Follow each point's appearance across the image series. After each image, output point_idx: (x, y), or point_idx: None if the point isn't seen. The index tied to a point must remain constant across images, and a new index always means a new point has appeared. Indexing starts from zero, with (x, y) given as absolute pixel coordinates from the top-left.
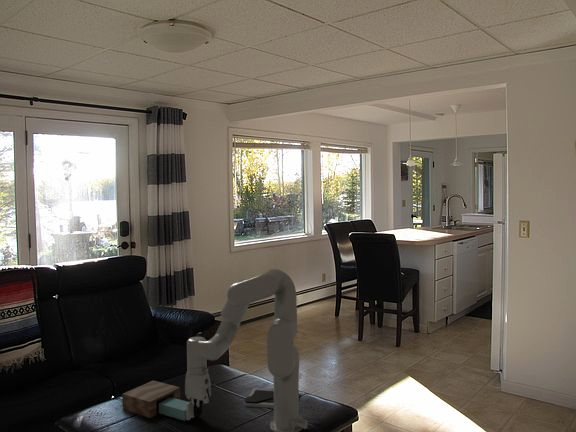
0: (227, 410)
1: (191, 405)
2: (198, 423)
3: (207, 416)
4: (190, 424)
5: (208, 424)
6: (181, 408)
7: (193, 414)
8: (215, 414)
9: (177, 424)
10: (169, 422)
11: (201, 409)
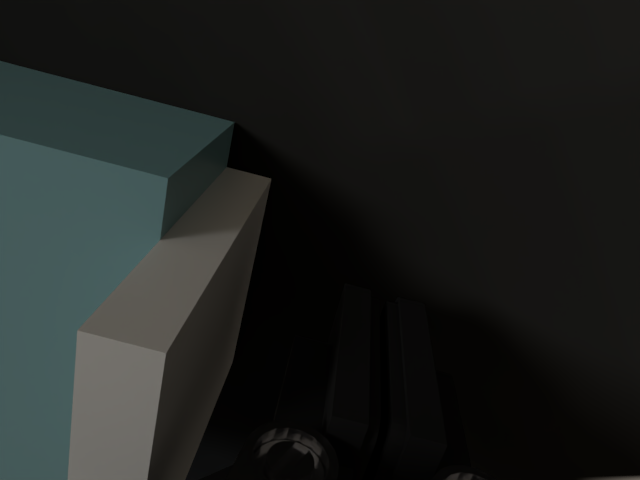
0: None
1: (173, 460)
2: None
3: (484, 164)
4: None
5: (600, 409)
6: (2, 444)
7: (244, 283)
8: (625, 35)
9: None
10: None
11: (457, 438)
